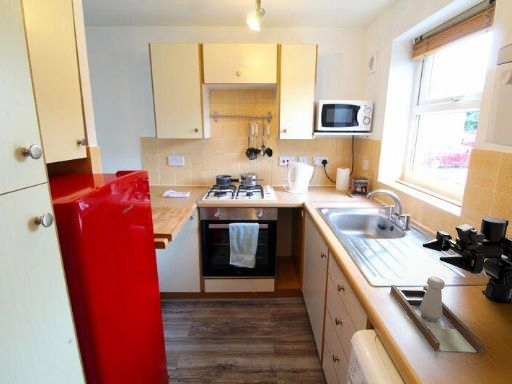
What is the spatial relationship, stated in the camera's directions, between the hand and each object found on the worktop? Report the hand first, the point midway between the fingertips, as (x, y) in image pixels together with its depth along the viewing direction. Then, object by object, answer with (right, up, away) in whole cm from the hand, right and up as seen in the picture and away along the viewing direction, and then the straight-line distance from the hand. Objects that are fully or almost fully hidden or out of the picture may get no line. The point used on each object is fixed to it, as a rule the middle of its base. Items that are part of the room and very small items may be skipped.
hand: (430, 251), depth 90 cm
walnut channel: (-4, -19, -6) cm, 20 cm away
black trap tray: (-4, -17, +2) cm, 17 cm away
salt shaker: (-4, -19, -6) cm, 20 cm away
